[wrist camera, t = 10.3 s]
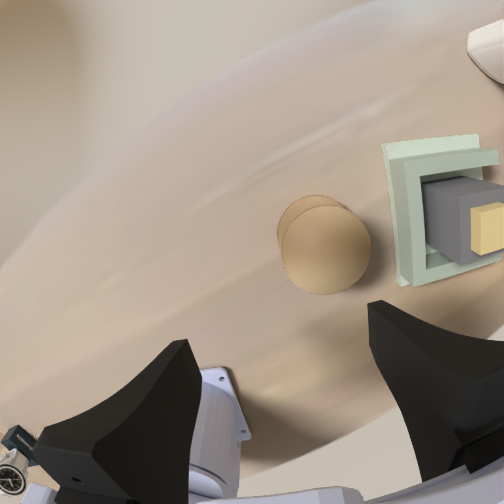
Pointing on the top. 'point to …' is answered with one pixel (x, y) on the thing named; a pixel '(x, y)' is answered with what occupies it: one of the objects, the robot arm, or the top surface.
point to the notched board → (410, 199)
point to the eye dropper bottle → (488, 49)
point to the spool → (323, 245)
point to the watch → (16, 461)
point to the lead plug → (464, 218)
